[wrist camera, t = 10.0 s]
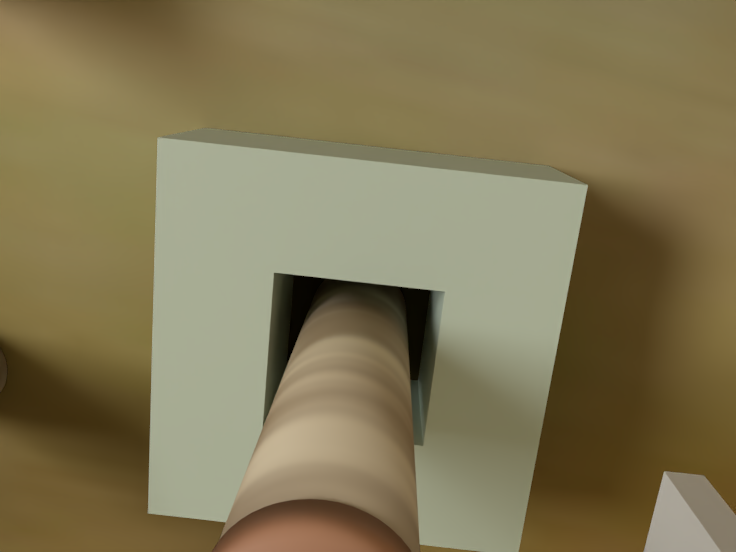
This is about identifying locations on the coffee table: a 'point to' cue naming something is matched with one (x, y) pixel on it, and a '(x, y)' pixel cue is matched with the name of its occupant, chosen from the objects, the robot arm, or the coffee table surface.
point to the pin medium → (2, 370)
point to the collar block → (368, 265)
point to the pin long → (336, 436)
